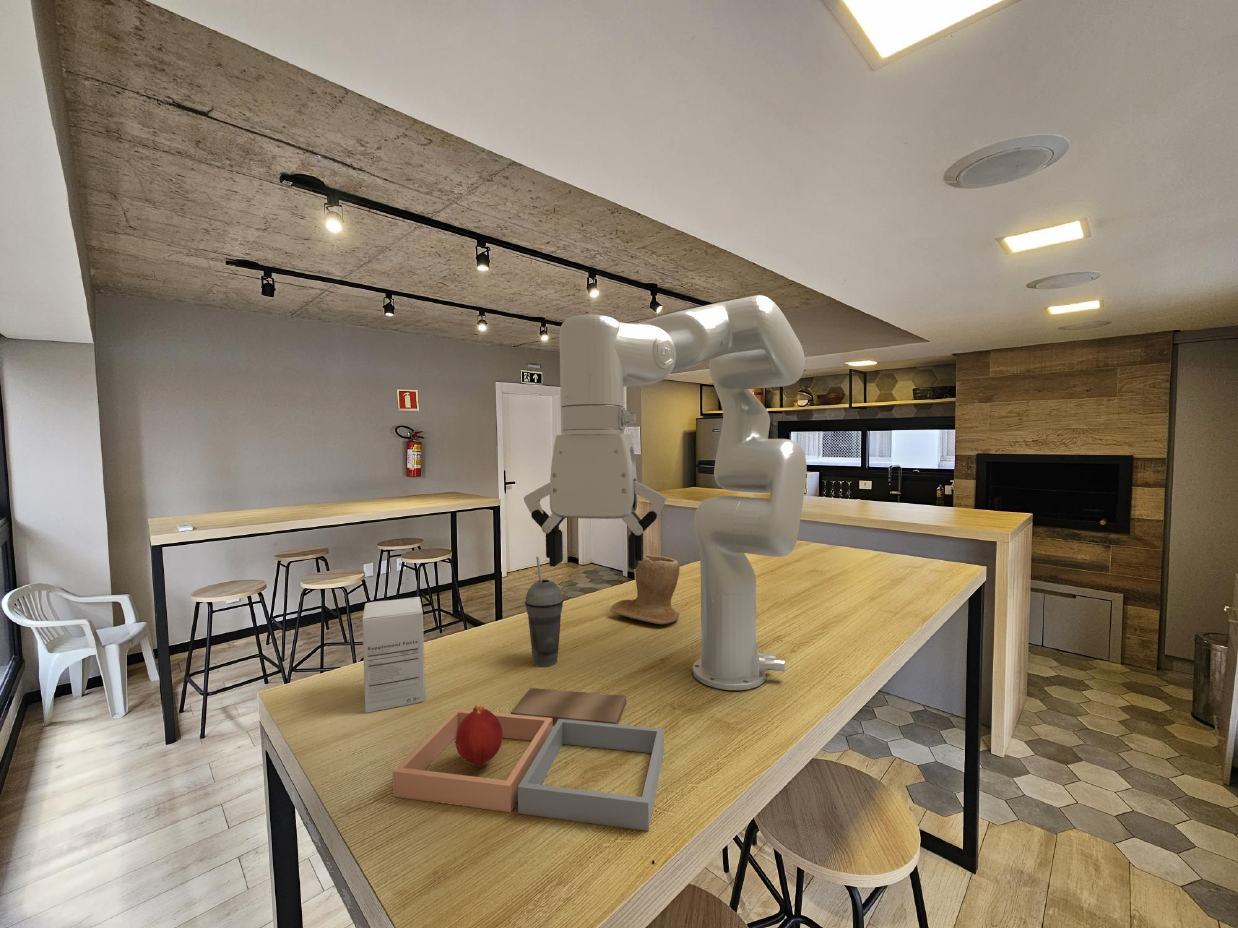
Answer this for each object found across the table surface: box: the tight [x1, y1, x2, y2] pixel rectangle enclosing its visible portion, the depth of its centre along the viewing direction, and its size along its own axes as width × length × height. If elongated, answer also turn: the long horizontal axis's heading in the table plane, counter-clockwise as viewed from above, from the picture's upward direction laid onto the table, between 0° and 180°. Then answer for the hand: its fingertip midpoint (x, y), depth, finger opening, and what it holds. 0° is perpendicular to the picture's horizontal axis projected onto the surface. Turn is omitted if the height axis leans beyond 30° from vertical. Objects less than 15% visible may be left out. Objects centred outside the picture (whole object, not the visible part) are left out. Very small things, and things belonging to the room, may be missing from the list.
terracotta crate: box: [392, 708, 554, 813], centre depth 66 cm, size 15×15×3 cm
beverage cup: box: [524, 556, 564, 668], centre depth 98 cm, size 7×7×20 cm
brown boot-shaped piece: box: [609, 554, 681, 625], centre depth 122 cm, size 15×12×15 cm
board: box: [510, 687, 627, 726], centre depth 79 cm, size 16×8×1 cm, turn 79°
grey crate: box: [517, 719, 665, 832], centre depth 63 cm, size 15×15×3 cm
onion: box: [455, 704, 503, 768], centre depth 66 cm, size 6×6×8 cm
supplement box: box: [361, 596, 426, 714], centre depth 85 cm, size 9×9×15 cm
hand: (594, 565), depth 62 cm, fingers open, 9 cm apart
